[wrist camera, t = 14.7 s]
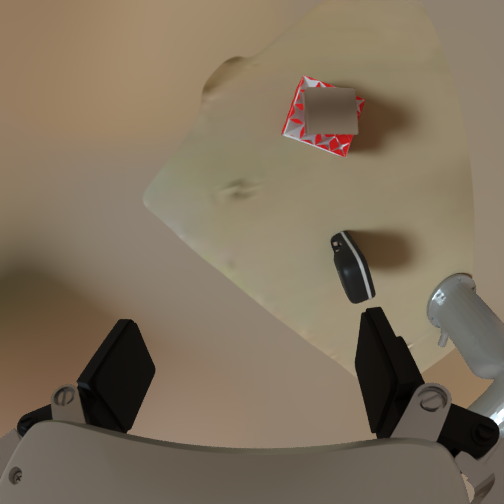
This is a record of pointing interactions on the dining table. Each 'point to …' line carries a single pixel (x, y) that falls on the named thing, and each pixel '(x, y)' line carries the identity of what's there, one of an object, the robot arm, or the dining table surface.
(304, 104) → the walnut block
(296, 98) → the puzzle cube
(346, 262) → the battery charger
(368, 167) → the dining table surface
